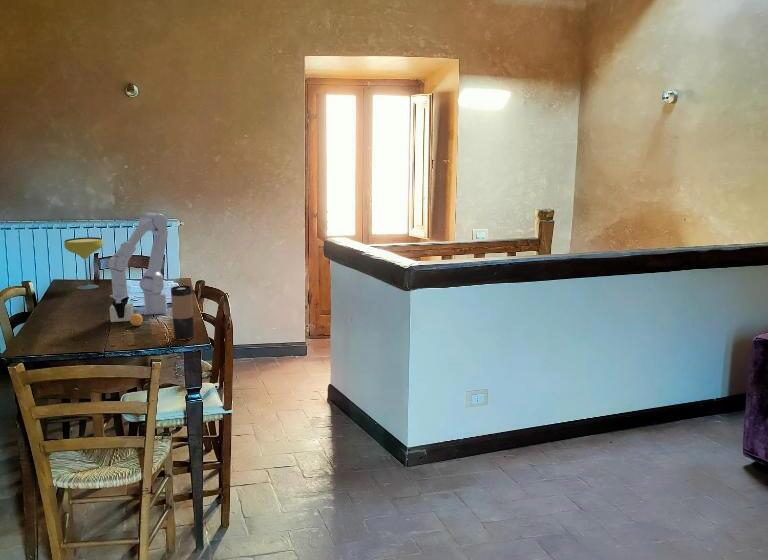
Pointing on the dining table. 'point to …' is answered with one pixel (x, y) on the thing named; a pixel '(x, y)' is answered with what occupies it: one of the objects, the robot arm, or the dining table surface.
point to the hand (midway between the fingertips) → (122, 315)
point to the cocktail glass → (84, 252)
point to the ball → (136, 319)
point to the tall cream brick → (127, 313)
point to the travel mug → (182, 312)
